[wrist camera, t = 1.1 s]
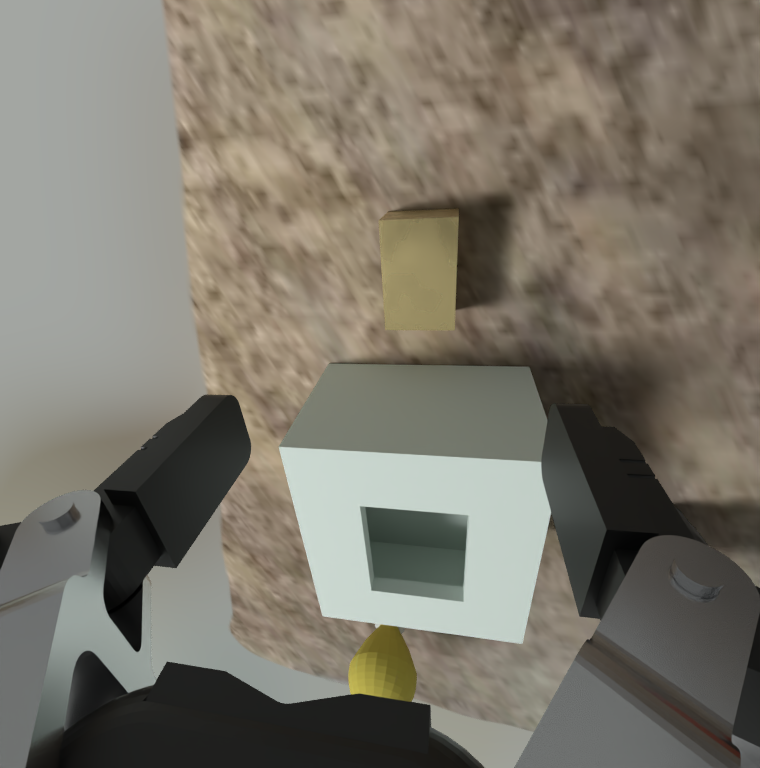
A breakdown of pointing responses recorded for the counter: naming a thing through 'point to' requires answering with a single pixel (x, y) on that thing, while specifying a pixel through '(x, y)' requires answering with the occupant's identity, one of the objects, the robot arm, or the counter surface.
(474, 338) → the counter surface
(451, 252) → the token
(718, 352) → the counter surface
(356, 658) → the light bulb
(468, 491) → the box
